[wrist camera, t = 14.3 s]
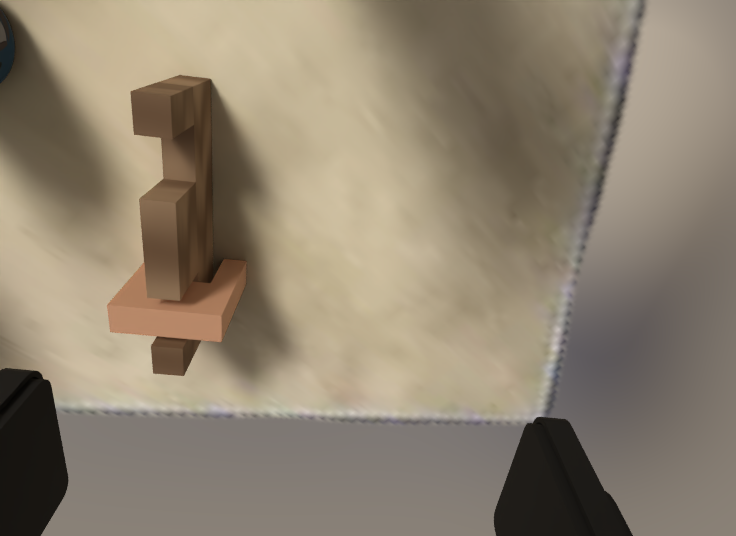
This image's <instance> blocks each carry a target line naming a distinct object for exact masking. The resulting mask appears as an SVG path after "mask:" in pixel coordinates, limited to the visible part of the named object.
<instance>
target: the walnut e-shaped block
mask: <svg viewBox="0 0 736 536" xmlns="http://www.w3.org/2000/svg"><path fill="white" fill-rule="evenodd" d="M131 103H132V115H133V128H134V135H142V136H151V137H160V138H161V142H162V160H163V177H164V179H163V180H162V181H160V182H159V183H158V184H157V185H156V186H154V187H153V188H152V189H151V190H150V191H148V192H147V193H146V194H145V195H144V196H142V197H141V198H140V199H139V202H140V215H141V227H142V240H143V252H144V265H145V277H146V289H147V298H154V299H165V300H176V301H180V300H181V299H182V297H183V296H184V294H185V292H186V291H187V289H188V288H189V286H190V285H191V283H192V282H203V283H211V282H212V280H213V278H214V268H213V200H212V132H211V79H207V78H199V77H190V76H182V75H179V76H176V77H173V78H170V79H167V80H164V81H160V82H157V83H154V84H151V85H148V86H145V87H142V88H139V89H136V90H133V91H131ZM200 342H201V340H193V339H182V338H171V337H160V336H157V337H156V339H155V341H154V342H153V344H152V345H151V352H152V364H153V373H155V374H167V375H179V376H184V375H185V372H186V370H187V368H188V366H189V364H190V362H191V360H192V358H193V356H194V354H195V352H196V350H197V348H198V346H199V344H200Z"/></svg>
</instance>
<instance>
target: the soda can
mask: <svg viewBox="0 0 736 536" xmlns="http://www.w3.org/2000/svg"><path fill="white" fill-rule="evenodd" d="M14 54H15V42H14V36H13V32H12V29H11V26H10V24H9V21H8V20H7V18H6V16H5V14H4V13H3V11H2V10H1V8H0V83H1V82H2V81H3V80H4V79H5V78H6V77H7V75H8V73H9V72H10V70H11V67H12V64H13V60H14Z"/></svg>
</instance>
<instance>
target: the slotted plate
mask: <svg viewBox="0 0 736 536" xmlns="http://www.w3.org/2000/svg"><path fill="white" fill-rule="evenodd" d="M246 263H247V261H241V260H231V259H224V260H223V262H222V264H221V265H220V267H219V269H218V271H217V273H216V274H215V276H214V278H213V280H212V282H211V283H203V282H192V283H191V285H190V286H189V288H188V289H187V291H186V292H185V294H184V296H183V297H182V299H181V300H180V301H176V300H165V299H154V298H147V289H146V277H145V265H144V263H143V264H142V266H141V267H140V268H139V269H138V270H137V271H136V272H135V274H134V275H133V276H132V277H131V278H130V279H129V280H128V282H127V283H126V284H125V285H124V286H123V287H122V289H121V290H120V291H119V292H118V293H117V294H116V295H115V297H114V298H113V299H112V300H111V301H110V302H109V303H108V305H107V308H108V317H109V325H110V332H115V333H126V334H138V335H149V336H160V337H171V338H182V339H193V340H204V341H215V342H222V340H223V338H224V335H225V333H226V330H227V328H228V326H229V323H230V321H231V319H232V316H233V314H234V311H235V309H236V307H237V304H238V302H239V300H240V297H241V295H242V292H243V290H244V288H245V285H246Z"/></svg>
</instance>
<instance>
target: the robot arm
mask: <svg viewBox="0 0 736 536" xmlns="http://www.w3.org/2000/svg"><path fill="white" fill-rule="evenodd" d="M67 486H68V473H67V468H66V463H65V457H64V452H63V446H62V441H61V436H60V431H59V425H58V420H57V414H56V409H55V404H54V398H53V393H52V387H51V384H50V382H49V381H48V380H44V379H43V377H42V374H41V373H40V372H38V371H31V370H21V369H10V368H5V369H2V370H1V371H0V536H41V534H42V532H43V531H44V529H45V527H46V526H47V524H48V522H49V521H50V519H51V517H52V516H53V514H54V513H55V511H56V509H57V507H58V506H59V504H60V502H61V501H62V499H63V497H64V495H65V493H66V490H67ZM494 527H495V532H496V536H633V535H632V533H631V531H630V529H629V527H628V525H627V524H626V522H625V520H624V518H623V516H622V514H621V512H620V510H619V508H618V506H617V504H616V503H615V501H614V500H613V498H612V497H611V495H610V494H608V493H607V492H606V491H604V489H603V487H602V485H601V483H600V481H599V479H598V477H597V475H596V473H595V471H594V469H593V467H592V465H591V463H590V461H589V460H588V458H587V456H586V454H585V452H584V450H583V448H582V446H581V444H580V442H579V440H578V438H577V436H576V434H575V432H574V430H573V428H572V426H571V424H570V423H569V422H568V421H567V420H566V419H557V418H546V417H537V418H536V419H535V420H534V422H533V424H532V423H528V424H527V425H526V426H525V428H524V431H523V434H522V437H521V439H520V443H519V445H518V448H517V450H516V453H515V456H514V459H513V462H512V464H511V467H510V470H509V473H508V476H507V478H506V481H505V484H504V487H503V490H502V492H501V495H500V498H499V501H498V504H497V506H496V509H495V513H494Z"/></svg>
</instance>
